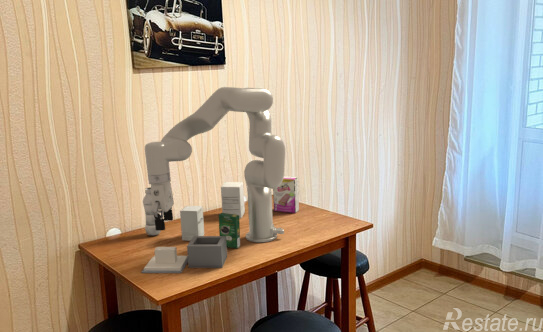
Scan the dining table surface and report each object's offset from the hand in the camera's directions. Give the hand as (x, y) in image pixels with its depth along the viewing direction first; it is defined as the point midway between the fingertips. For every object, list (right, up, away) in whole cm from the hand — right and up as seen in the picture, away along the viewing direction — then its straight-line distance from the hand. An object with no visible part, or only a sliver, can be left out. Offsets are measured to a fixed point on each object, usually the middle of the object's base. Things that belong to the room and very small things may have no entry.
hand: (164, 225), depth 180 cm
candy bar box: (+44, -1, +60) cm, 75 cm away
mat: (0, -15, +3) cm, 15 cm away
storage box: (+15, -14, +4) cm, 21 cm away
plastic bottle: (-12, -8, +35) cm, 38 cm away
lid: (0, -14, +3) cm, 15 cm away
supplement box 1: (+6, -9, +30) cm, 32 cm away
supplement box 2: (+20, -2, +57) cm, 60 cm away
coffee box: (+22, -11, +19) cm, 30 cm away
